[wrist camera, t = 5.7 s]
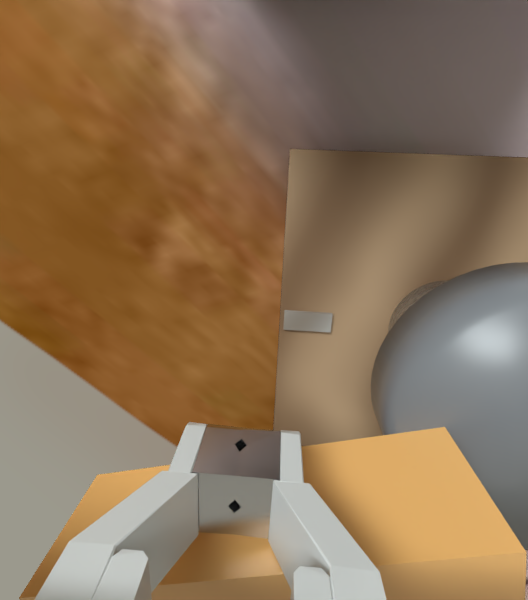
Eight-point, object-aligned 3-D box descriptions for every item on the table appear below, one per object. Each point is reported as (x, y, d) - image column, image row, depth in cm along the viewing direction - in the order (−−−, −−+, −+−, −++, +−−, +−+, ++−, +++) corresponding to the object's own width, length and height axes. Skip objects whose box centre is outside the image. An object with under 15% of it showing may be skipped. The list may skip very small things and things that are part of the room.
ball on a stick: (646, 235, 11) (1146, 311, 4) (616, 459, 13) (896, 695, 7) (103, 340, 13) (-60, 484, 7) (175, 512, 16) (106, 724, 10)
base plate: (640, 164, 15) (681, 162, 14) (533, 444, 21) (554, 466, 19) (289, 151, 16) (290, 148, 15) (273, 426, 21) (272, 446, 20)
